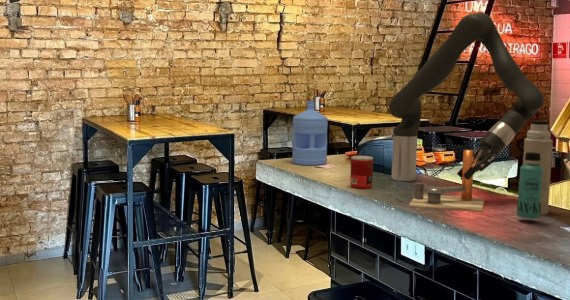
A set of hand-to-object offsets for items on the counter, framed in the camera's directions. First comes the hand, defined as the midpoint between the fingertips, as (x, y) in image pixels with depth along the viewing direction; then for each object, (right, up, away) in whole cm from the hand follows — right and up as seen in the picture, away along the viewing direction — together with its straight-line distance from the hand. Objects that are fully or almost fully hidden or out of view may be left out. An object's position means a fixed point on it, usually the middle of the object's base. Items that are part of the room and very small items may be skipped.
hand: (462, 176), depth 210 cm
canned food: (-30, -5, +26) cm, 40 cm away
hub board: (-5, -9, -1) cm, 10 cm away
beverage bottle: (+12, -12, -24) cm, 30 cm away
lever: (-5, -8, -1) cm, 9 cm away
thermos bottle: (+19, -10, -12) cm, 24 cm away
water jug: (-47, +2, +81) cm, 94 cm away
